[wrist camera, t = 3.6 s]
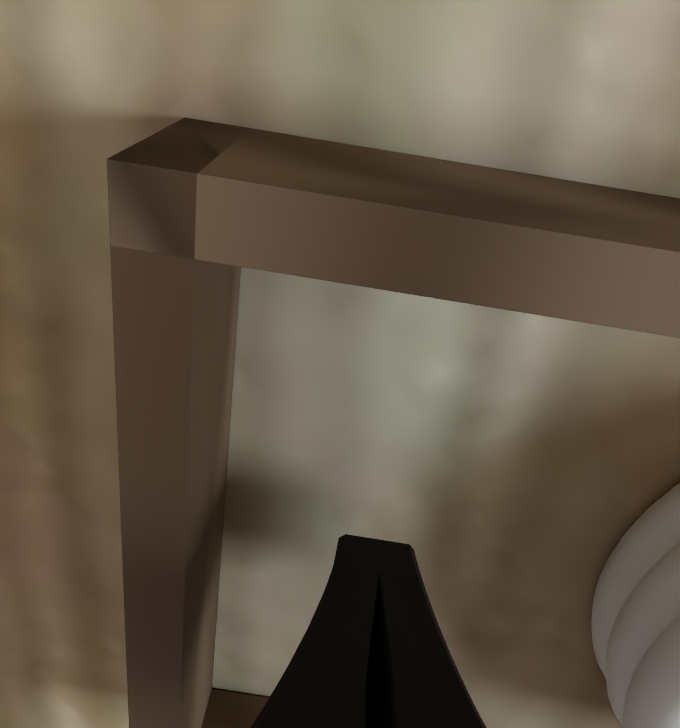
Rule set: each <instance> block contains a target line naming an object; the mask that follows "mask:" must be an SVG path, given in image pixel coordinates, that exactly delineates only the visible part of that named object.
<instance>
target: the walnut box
mask: <svg viewBox="0 0 680 728" xmlns="http://www.w3.org/2000/svg"><path fill="white" fill-rule="evenodd" d="M107 171H108V197H109V222H110V248H111V274H112V299H113V325H114V351H115V377H116V402H117V428H118V454H119V480H120V505H121V531H122V557H123V582H124V608H125V634H126V660H127V685H128V711H129V728H250V727H251V726H252V724H253V723H254V721H255V720H256V718H257V717H258V715H259V714H260V712H261V710H262V709H263V707H264V706H265V704H266V702H267V701H268V699H269V698H267V697H261V696H254V695H248V694H242V693H235V692H229V691H223V690H216V689H212V676H213V661H214V647H215V633H216V618H217V604H218V589H219V575H220V560H221V546H222V531H223V517H224V503H225V488H226V474H227V459H228V445H229V430H230V416H231V402H232V387H233V373H234V358H235V344H236V329H237V315H238V301H239V286H240V272H241V267H246V268H253V269H259V270H265V271H271V272H277V273H283V274H289V275H296V276H302V277H308V278H314V279H320V280H326V281H333V282H339V283H345V284H351V285H357V286H363V287H370V288H376V289H382V290H388V291H394V292H400V293H406V294H413V295H419V296H425V297H431V298H437V299H443V300H450V301H456V302H462V303H468V304H474V305H480V306H487V307H493V308H499V309H505V310H511V311H517V312H523V313H530V314H536V315H542V316H548V317H554V318H560V319H567V320H573V321H579V322H585V323H591V324H597V325H604V326H610V327H616V328H622V329H628V330H634V331H640V332H647V333H653V334H659V335H665V336H671V337H677V338H680V199H678V198H672V197H665V196H659V195H653V194H647V193H641V192H635V191H629V190H623V189H617V188H610V187H604V186H598V185H592V184H586V183H580V182H574V181H568V180H562V179H556V178H549V177H543V176H537V175H531V174H525V173H519V172H513V171H507V170H501V169H495V168H488V167H482V166H476V165H470V164H464V163H458V162H452V161H446V160H440V159H434V158H427V157H421V156H415V155H409V154H403V153H397V152H391V151H385V150H379V149H373V148H366V147H360V146H354V145H348V144H342V143H336V142H330V141H324V140H318V139H312V138H305V137H299V136H293V135H287V134H281V133H275V132H269V131H263V130H257V129H251V128H244V127H238V126H232V125H226V124H220V123H214V122H208V121H202V120H196V119H189V118H184V119H182V120H180V121H178V122H176V123H174V124H172V125H170V126H168V127H167V128H165V129H163V130H161V131H159V132H157V133H155V134H153V135H151V136H150V137H148V138H146V139H144V140H142V141H140V142H138V143H136V144H134V145H133V146H131V147H129V148H127V149H125V150H123V151H121V152H119V153H117V154H115V155H114V156H112V157H110V158H108V159H107Z"/></svg>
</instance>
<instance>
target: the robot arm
mask: <svg viewBox="0 0 680 728" xmlns="http://www.w3.org/2000/svg"><path fill="white" fill-rule="evenodd" d="M250 728H486V726H485V725H484V723H483V721H482V719H481V717H480V715H479V713H478V711H477V709H476V707H475V705H474V703H473V701H472V699H471V697H470V695H469V693H468V691H467V689H466V687H465V685H464V683H463V680H462V678H461V676H460V674H459V672H458V670H457V667H456V665H455V663H454V661H453V659H452V656H451V654H450V651H449V649H448V647H447V644H446V642H445V639H444V637H443V635H442V632H441V630H440V627H439V625H438V622H437V620H436V617H435V615H434V612H433V609H432V606H431V604H430V601H429V598H428V595H427V592H426V589H425V586H424V583H423V580H422V577H421V574H420V571H419V567H418V563H417V560H416V556H415V552H414V549H413V548H412V547H411V546H410V545H409V544H403V543H397V542H391V541H384V540H378V539H372V538H365V537H359V536H353V535H347V534H346V535H344V536H342V537H340V538H339V540H338V545H337V550H336V555H335V560H334V565H333V568H332V571H331V574H330V577H329V580H328V583H327V585H326V588H325V591H324V593H323V596H322V598H321V600H320V602H319V605H318V607H317V609H316V611H315V614H314V616H313V618H312V620H311V623H310V625H309V627H308V629H307V631H306V633H305V635H304V637H303V639H302V641H301V642H300V644H299V646H298V648H297V650H296V652H295V654H294V656H293V658H292V660H291V661H290V663H289V665H288V667H287V669H286V671H285V672H284V674H283V676H282V678H281V679H280V681H279V683H278V684H277V686H276V688H275V689H274V691H273V693H272V694H271V696H270V698H269V699H268V701H267V702H266V704H265V706H264V707H263V709H262V710H261V712H260V714H259V715H258V717H257V718H256V720H255V721H254V723H253V724H252V726H251V727H250Z"/></svg>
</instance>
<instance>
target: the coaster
mask: <svg viewBox="0 0 680 728" xmlns="http://www.w3.org/2000/svg"><path fill="white" fill-rule="evenodd" d="M591 634H592V643H593V649H594V653H595V656H596V659H597V662H598V665H599V667H600V669H601V671H602V672H603V674H604V676H605V678H606V684H607V694H608V698H609V701H610V704H611V707H612V710H613V713H614V715H615V716H616V718H617V720H618V722H619V723H620V725H621V727H622V728H680V483H679V484H677V485H676V486H674V487H673V488H672V489H671V490H669V491H668V492H667V493H666V494H665V495H663V496H662V497H661V498H660V499H659V500H657V501H656V502H655V503H654V504H653V505H651V506H650V507H649V508H648V509H647V510H646V511H645V512H644V513H643V514H642V515H641V516H640V517H639V518H638V520H637V521H636V522H635V523H634V524H633V525H632V526H631V527H630V528H629V529H628V530H627V531H626V533H625V534H624V536H623V537H622V538H621V540H620V541H619V543H618V544H617V545H616V547H615V548H614V550H613V551H612V553H611V554H610V556H609V558H608V560H607V562H606V564H605V566H604V568H603V570H602V572H601V574H600V576H599V579H598V583H597V586H596V589H595V593H594V596H593V606H592V617H591Z"/></svg>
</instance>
